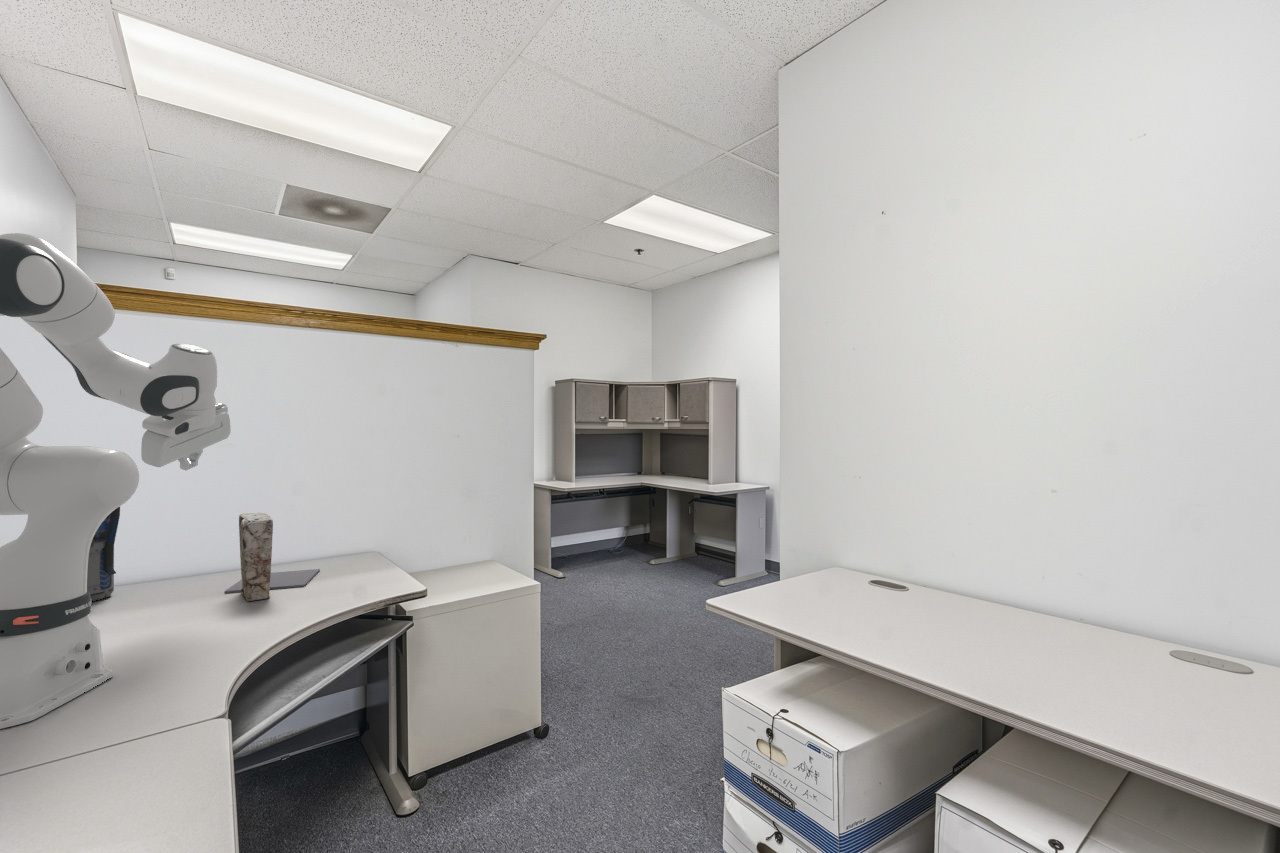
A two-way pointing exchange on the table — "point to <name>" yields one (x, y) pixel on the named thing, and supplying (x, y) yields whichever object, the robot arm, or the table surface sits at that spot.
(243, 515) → the stone block
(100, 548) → the grey blue tall cylinder
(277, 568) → the table surface
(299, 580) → the mat
